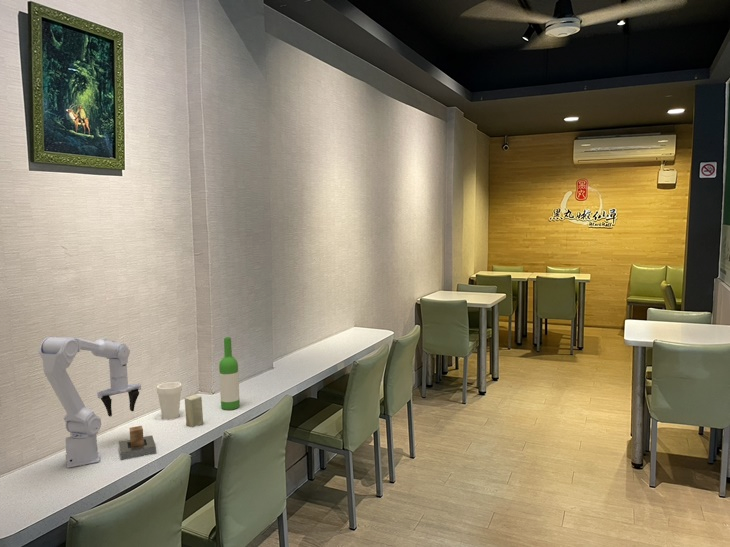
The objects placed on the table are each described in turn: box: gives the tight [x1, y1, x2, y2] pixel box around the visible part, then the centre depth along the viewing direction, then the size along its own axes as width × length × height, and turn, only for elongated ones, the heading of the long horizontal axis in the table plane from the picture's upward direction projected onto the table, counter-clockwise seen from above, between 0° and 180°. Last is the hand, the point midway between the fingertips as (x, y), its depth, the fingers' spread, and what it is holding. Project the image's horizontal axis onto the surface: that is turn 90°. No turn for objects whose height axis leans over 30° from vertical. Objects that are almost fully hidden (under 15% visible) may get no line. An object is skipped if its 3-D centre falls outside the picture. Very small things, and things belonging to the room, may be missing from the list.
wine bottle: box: [218, 337, 241, 411], centre depth 236 cm, size 8×8×30 cm
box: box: [184, 394, 204, 428], centre depth 218 cm, size 5×4×11 cm
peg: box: [129, 425, 144, 448], centre depth 194 cm, size 4×4×8 cm
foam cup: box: [156, 381, 183, 420], centre depth 227 cm, size 10×9×13 cm
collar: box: [118, 435, 157, 461], centre depth 194 cm, size 11×11×2 cm
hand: (121, 413), depth 202 cm, fingers open, 7 cm apart
